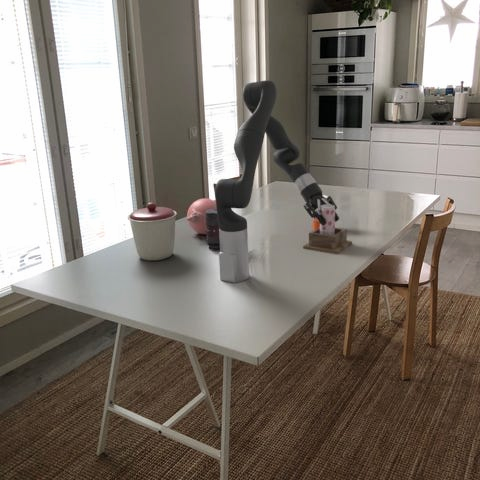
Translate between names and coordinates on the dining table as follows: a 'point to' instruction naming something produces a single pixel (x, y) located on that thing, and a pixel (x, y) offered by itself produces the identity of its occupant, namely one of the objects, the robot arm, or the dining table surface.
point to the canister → (153, 231)
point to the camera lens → (212, 230)
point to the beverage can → (328, 219)
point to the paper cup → (315, 221)
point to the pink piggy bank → (199, 214)
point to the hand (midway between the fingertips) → (331, 222)
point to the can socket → (328, 241)
